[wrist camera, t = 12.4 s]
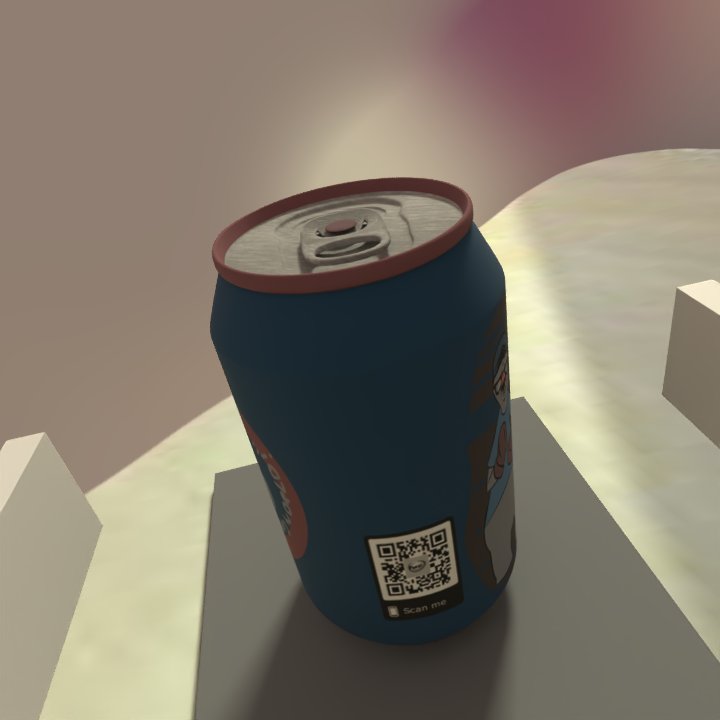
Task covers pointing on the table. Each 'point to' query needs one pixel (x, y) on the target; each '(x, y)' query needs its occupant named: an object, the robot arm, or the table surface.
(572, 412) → the table surface
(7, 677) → the robot arm
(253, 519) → the mat
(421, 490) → the soda can
